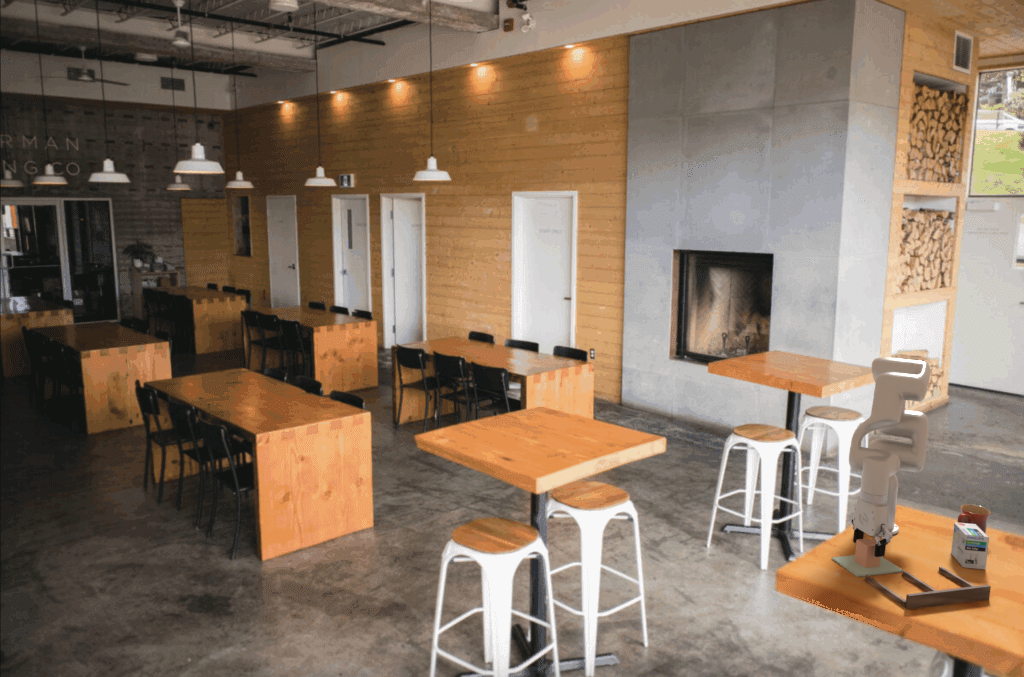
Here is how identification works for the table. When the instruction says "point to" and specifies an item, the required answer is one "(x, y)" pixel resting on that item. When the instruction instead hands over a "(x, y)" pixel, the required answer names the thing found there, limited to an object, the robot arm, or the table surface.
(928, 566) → the table surface
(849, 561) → the mat
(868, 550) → the block
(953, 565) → the table surface
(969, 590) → the lane rack
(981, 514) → the mug
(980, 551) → the light bulb box
